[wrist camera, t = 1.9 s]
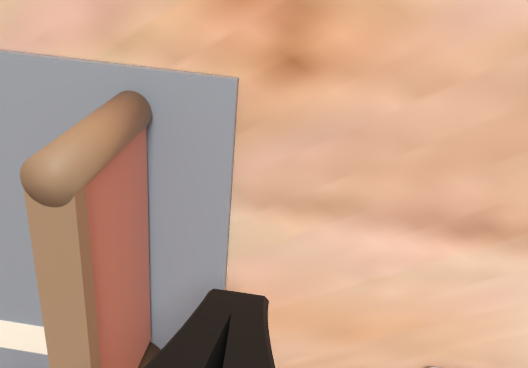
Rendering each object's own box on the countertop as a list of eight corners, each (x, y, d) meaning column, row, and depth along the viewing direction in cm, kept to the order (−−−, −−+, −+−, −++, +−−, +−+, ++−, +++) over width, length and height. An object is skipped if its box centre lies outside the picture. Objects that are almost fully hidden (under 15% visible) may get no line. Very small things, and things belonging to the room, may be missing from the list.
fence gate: (155, 339, 22) (101, 460, 17) (123, 334, 22) (60, 452, 17) (151, 93, 17) (73, 159, 12) (110, 88, 17) (16, 151, 12)
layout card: (238, 77, 17) (236, 80, 16) (211, 511, 28) (210, 518, 27) (-229, 23, 18) (-239, 24, 18) (-81, 457, 29) (-86, 463, 28)
